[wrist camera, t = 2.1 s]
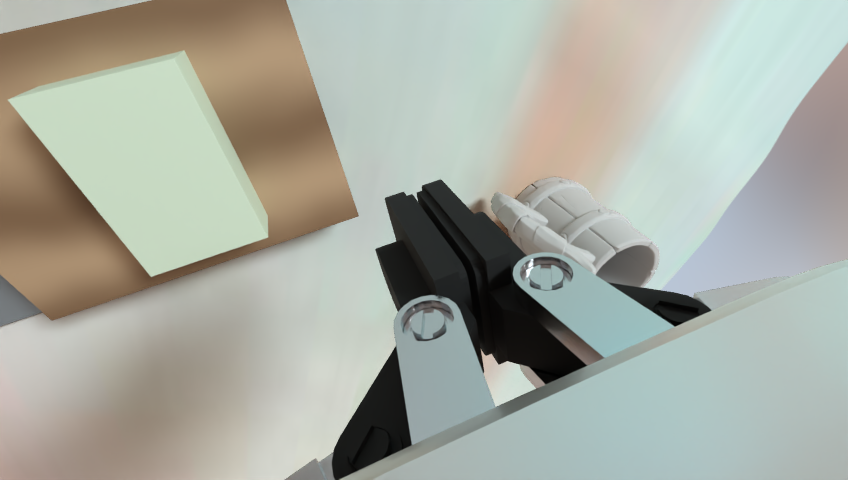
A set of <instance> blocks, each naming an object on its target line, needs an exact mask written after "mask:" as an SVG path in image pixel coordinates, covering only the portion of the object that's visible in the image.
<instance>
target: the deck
mask: <svg viewBox="0 0 848 480" xmlns="http://www.w3.org/2000/svg"><path fill="white" fill-rule="evenodd" d="M180 51H185V53H186V55H187V57H188V59H189V61H190V63H191V65H192V67H193V69H194V71H195V73H196V75H197V77H198V78H199V80H200V82H201V84H202V86H203V88H204V90H205V92H206V94H207V96H208V98H209V100H210V102H211V104H212V106H213V108H214V110H215V112H216V114H217V116H218V118H219V120H220V122H221V124H222V126H223V128H224V130H225V132H226V134H227V136H228V138H229V140H230V142H231V144H232V146H233V148H234V150H235V152H236V154H237V156H238V158H239V160H240V162H241V164H242V166H243V168H244V170H245V172H246V174H247V176H248V178H249V180H250V182H251V184H252V186H253V188H254V189H255V191H256V193H257V195H258V197H259V199H260V201H261V203H262V205H263V207H264V209H265V211H266V213H267V215H268V238H265V239H262V240H259V241H256V242H253V243H250V244H247V245H244V246H241V247H238V248H235V249H232V250H229V251H226V252H223V253H220V254H217V255H215V256H212V257H209V258H206V259H203V260H200V261H197V262H194V263H191V264H188V265H185V266H182V267H179V268H176V269H173V270H170V271H167V272H164V273H161V274H158V275H155V276H152V277H151V276H150V275H149V274H148V273H147V271H146V270H145V269H144V268H143V266H142V265H141V264H140V263H139V261H138V260H137V259H136V258H135V257H134V255H133V254H132V253H131V252H130V250H129V249H128V248H127V247H126V245H125V244H124V243H123V242H122V240H121V239H120V238H119V237H118V236H117V234H116V233H115V232H114V231H113V229H112V228H111V227H110V226H109V224H108V223H107V222H106V221H105V219H104V218H103V217H102V216H101V215H100V213H99V212H98V211H97V210H96V208H95V207H94V206H93V205H92V203H91V202H90V201H89V200H88V198H87V197H86V196H85V195H84V194H83V192H82V191H81V190H80V189H79V187H78V186H77V185H76V184H75V182H74V181H73V180H72V179H71V178H70V176H69V175H68V174H67V173H66V171H65V170H64V169H63V168H62V166H61V165H60V164H59V163H58V161H57V160H56V159H55V158H54V157H53V155H52V154H51V153H50V152H49V150H48V149H47V148H46V147H45V145H44V144H43V143H42V142H41V140H40V139H39V138H38V137H37V136H36V134H35V133H34V132H33V131H32V129H31V128H30V127H29V126H28V124H27V123H26V122H25V121H24V119H23V118H22V117H21V116H20V115H19V113H18V112H17V111H16V110H15V108H14V107H13V106H12V105H11V103H10V102H9V101H8V99H11V98H13V97H15V96H17V95H20V94H22V93H24V92H26V91H29V90H31V89H33V88H36V87H38V86H42V85H46V84H50V83H54V82H58V81H62V80H66V79H70V78H74V77H78V76H82V75H86V74H90V73H94V72H98V71H102V70H107V69H111V68H115V67H119V66H123V65H127V64H131V63H135V62H139V61H143V60H147V59H151V58H155V57H159V56H163V55H167V54H171V53H176V52H180ZM358 216H359V215H358V212H357V209H356V206H355V204H354V201H353V198H352V195H351V192H350V189H349V186H348V183H347V180H346V177H345V174H344V171H343V168H342V165H341V162H340V159H339V156H338V153H337V150H336V147H335V144H334V141H333V138H332V135H331V132H330V129H329V126H328V124H327V121H326V118H325V115H324V112H323V109H322V106H321V103H320V100H319V97H318V94H317V91H316V88H315V85H314V82H313V79H312V76H311V73H310V70H309V67H308V64H307V61H306V58H305V55H304V52H303V49H302V47H301V44H300V41H299V38H298V35H297V32H296V29H295V26H294V23H293V20H292V17H291V14H290V11H289V8H288V5H287V2H286V0H151V1H147V2H142V3H138V4H133V5H129V6H125V7H120V8H116V9H111V10H107V11H102V12H98V13H93V14H89V15H84V16H80V17H75V18H71V19H66V20H62V21H57V22H53V23H48V24H44V25H39V26H35V27H30V28H26V29H21V30H17V31H12V32H8V33H3V34H0V275H1V276H3V277H4V278H5V279H6V280H7V281H8V282H9V283H10V284H11V285H13V286H14V287H15V288H16V289H17V290H18V291H19V292H20V293H22V294H23V295H24V296H25V297H26V298H27V299H28V300H29V301H30V302H32V303H33V304H34V305H35V306H36V307H37V308H38V309H39V310H41V311H42V312H43V313H44V314H45V315H46V316H47V317H48V318H49V319H51V320H55V319H58V318H61V317H64V316H67V315H70V314H73V313H76V312H79V311H82V310H84V309H87V308H90V307H93V306H96V305H99V304H102V303H105V302H108V301H111V300H114V299H117V298H120V297H123V296H126V295H129V294H131V293H134V292H137V291H140V290H143V289H146V288H149V287H152V286H155V285H158V284H161V283H164V282H167V281H170V280H173V279H175V278H178V277H181V276H184V275H187V274H190V273H193V272H196V271H199V270H202V269H205V268H208V267H211V266H214V265H217V264H220V263H222V262H225V261H228V260H231V259H234V258H237V257H240V256H243V255H246V254H249V253H252V252H255V251H258V250H261V249H264V248H267V247H269V246H272V245H275V244H278V243H281V242H284V241H287V240H290V239H293V238H296V237H299V236H302V235H305V234H308V233H311V232H313V231H316V230H319V229H322V228H325V227H328V226H331V225H334V224H337V223H340V222H343V221H346V220H349V219H352V218H355V217H358Z"/></svg>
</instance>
